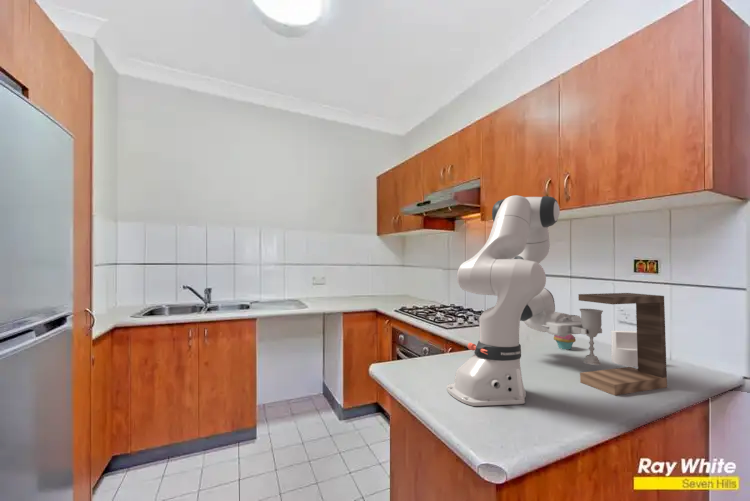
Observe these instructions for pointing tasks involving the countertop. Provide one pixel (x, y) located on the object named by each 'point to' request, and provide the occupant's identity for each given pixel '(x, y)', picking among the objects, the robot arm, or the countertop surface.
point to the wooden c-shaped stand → (648, 347)
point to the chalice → (591, 331)
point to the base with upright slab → (624, 348)
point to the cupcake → (565, 341)
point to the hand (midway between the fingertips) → (593, 331)
